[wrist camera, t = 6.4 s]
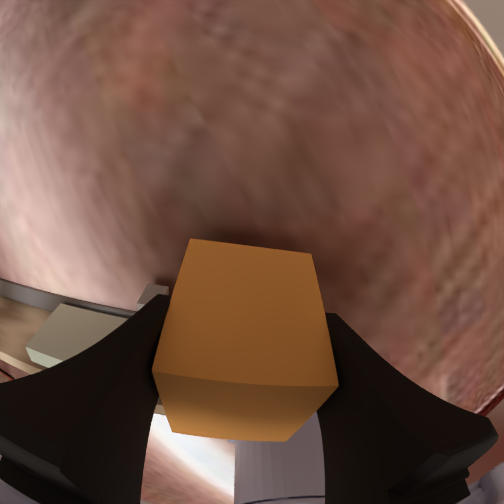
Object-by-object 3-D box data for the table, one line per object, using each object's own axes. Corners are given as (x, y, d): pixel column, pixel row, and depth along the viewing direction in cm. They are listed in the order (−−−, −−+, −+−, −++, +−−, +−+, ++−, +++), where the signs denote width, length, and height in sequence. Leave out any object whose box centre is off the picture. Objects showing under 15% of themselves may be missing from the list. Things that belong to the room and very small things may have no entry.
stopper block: (311, 253, 12) (338, 385, 7) (280, 339, 15) (286, 441, 10) (190, 238, 11) (151, 370, 6) (190, 329, 15) (172, 432, 10)
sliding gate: (174, 285, 15) (151, 342, 11) (175, 341, 17) (158, 399, 13) (52, 264, 15) (9, 304, 10) (64, 317, 16) (31, 360, 12)
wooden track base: (200, 321, 17) (186, 390, 12) (198, 353, 18) (187, 419, 13) (-7, 276, 16) (-46, 310, 11) (1, 304, 17) (-33, 340, 12)
